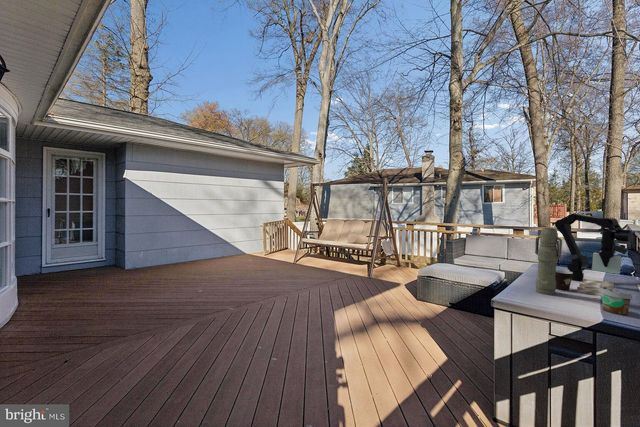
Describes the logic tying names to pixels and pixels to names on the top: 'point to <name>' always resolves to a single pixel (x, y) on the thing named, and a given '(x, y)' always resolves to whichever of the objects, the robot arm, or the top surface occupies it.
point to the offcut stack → (593, 285)
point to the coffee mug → (563, 279)
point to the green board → (612, 265)
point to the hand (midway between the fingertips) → (606, 266)
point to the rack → (592, 291)
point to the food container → (615, 301)
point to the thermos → (547, 260)
